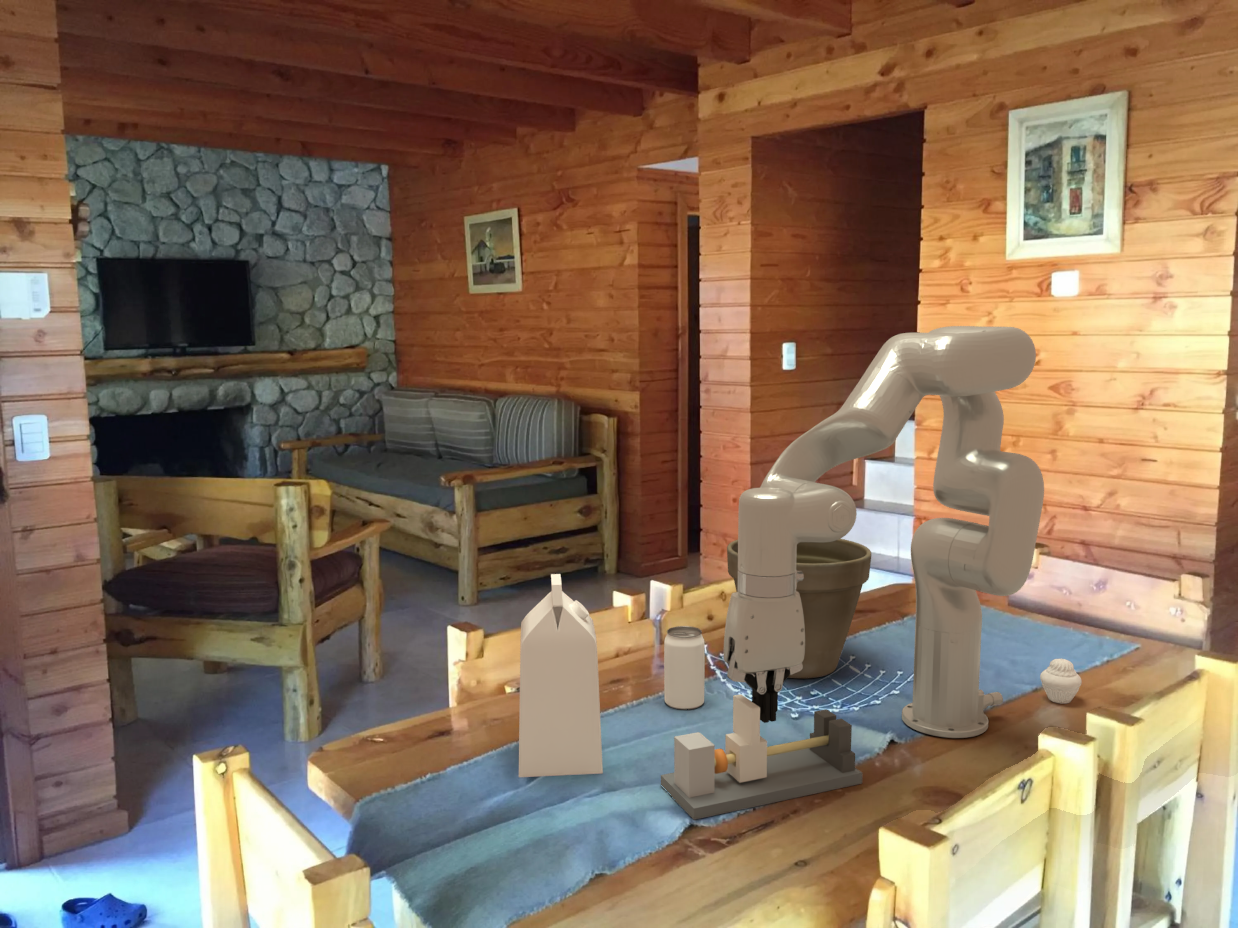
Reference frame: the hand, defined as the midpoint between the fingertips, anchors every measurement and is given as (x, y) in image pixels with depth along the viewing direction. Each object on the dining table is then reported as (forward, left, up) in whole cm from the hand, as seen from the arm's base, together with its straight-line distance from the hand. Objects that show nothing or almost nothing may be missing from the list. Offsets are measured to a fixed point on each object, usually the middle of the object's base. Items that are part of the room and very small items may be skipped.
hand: (764, 717), depth 134 cm
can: (-3, -30, -10) cm, 32 cm away
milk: (+22, -19, -10) cm, 31 cm away
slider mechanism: (0, 0, -9) cm, 9 cm away
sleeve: (+3, 0, -7) cm, 8 cm away
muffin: (-59, -7, -10) cm, 60 cm away
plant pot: (-29, -38, -10) cm, 49 cm away
